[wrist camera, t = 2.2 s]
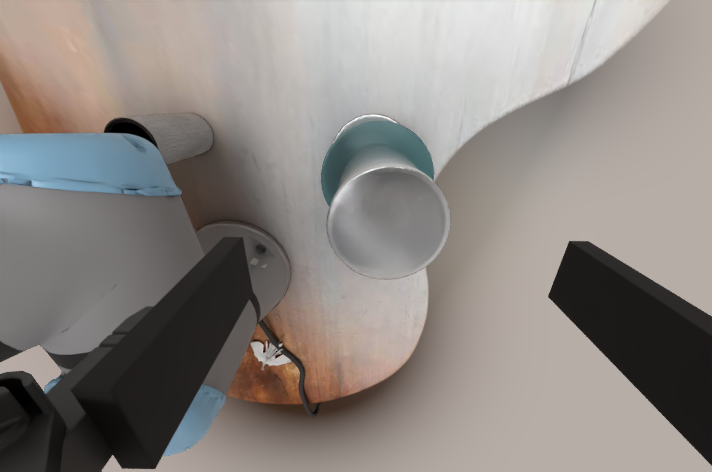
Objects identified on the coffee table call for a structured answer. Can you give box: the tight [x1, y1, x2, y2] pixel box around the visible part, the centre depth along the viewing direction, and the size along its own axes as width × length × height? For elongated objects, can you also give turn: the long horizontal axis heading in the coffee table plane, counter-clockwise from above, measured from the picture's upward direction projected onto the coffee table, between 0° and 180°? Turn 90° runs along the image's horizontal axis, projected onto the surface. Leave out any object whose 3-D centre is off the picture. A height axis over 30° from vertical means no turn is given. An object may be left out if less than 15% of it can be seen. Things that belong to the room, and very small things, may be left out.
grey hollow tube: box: [104, 113, 213, 165], centre depth 28 cm, size 4×4×10 cm
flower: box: [250, 334, 292, 370], centre depth 47 cm, size 8×8×3 cm
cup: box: [327, 143, 451, 279], centre depth 20 cm, size 7×7×10 cm
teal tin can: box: [321, 114, 434, 207], centre depth 29 cm, size 10×10×11 cm
